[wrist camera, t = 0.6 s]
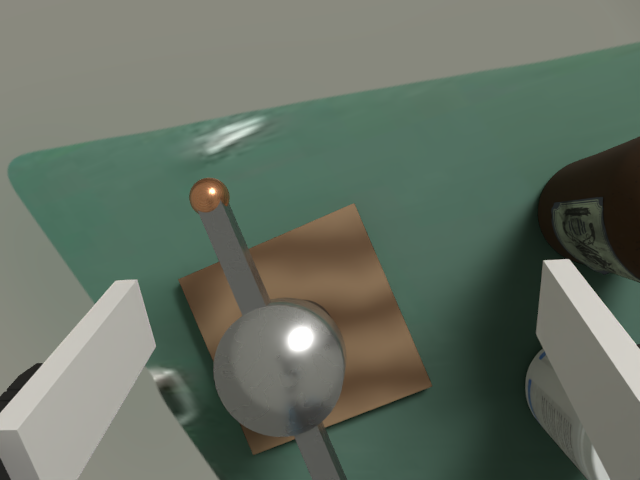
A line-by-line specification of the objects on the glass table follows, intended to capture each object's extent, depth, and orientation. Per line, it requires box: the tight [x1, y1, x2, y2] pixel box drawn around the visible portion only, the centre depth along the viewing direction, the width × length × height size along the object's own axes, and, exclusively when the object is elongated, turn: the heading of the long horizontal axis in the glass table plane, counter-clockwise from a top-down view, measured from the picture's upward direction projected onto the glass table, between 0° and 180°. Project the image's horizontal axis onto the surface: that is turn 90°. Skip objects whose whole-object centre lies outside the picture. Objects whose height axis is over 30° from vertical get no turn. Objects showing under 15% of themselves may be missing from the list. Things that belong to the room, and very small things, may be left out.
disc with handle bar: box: [189, 178, 347, 480], centre depth 37 cm, size 27×9×4 cm, turn 23°
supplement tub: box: [525, 349, 610, 480], centre depth 39 cm, size 10×10×15 cm
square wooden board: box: [178, 204, 432, 455], centre depth 44 cm, size 18×18×10 cm
